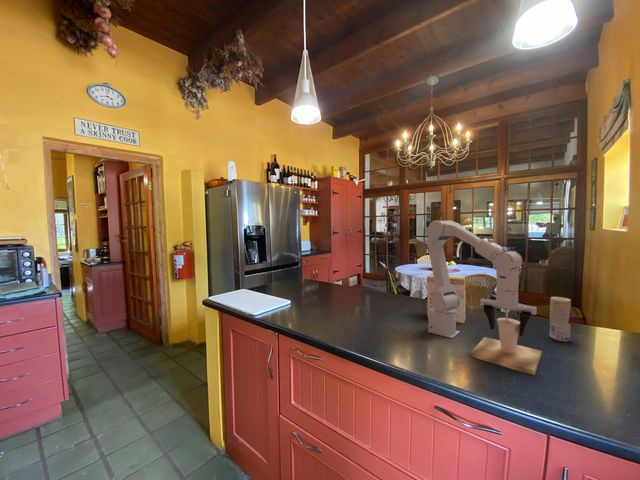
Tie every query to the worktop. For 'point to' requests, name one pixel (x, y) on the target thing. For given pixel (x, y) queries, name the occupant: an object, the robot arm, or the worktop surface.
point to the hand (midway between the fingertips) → (506, 331)
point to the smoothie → (508, 333)
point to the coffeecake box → (455, 282)
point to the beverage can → (560, 318)
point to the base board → (508, 356)
